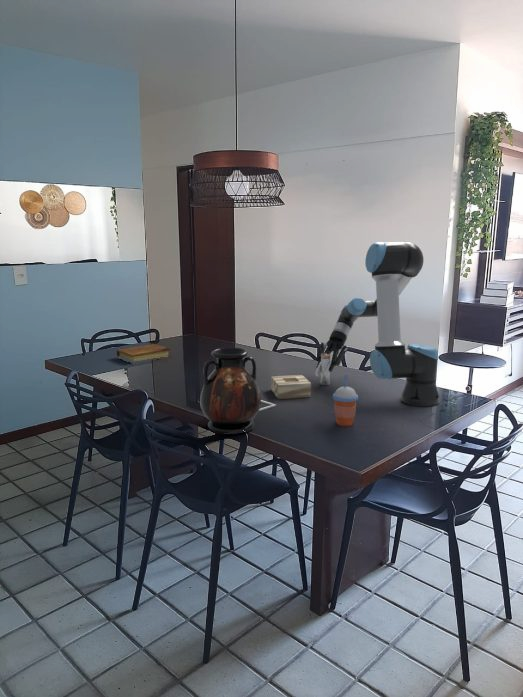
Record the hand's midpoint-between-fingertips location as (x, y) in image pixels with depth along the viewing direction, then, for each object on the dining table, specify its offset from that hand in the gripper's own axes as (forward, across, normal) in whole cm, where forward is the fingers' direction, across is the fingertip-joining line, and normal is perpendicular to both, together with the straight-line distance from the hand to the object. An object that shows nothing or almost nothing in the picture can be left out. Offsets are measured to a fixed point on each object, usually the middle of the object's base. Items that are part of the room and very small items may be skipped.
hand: (321, 375), depth 244 cm
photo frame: (+33, +10, +26) cm, 43 cm away
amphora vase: (+50, -2, +43) cm, 66 cm away
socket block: (+16, +4, +9) cm, 19 cm away
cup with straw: (+30, -33, +23) cm, 50 cm away
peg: (+1, 0, -6) cm, 6 cm away
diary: (+11, +109, +3) cm, 109 cm away
